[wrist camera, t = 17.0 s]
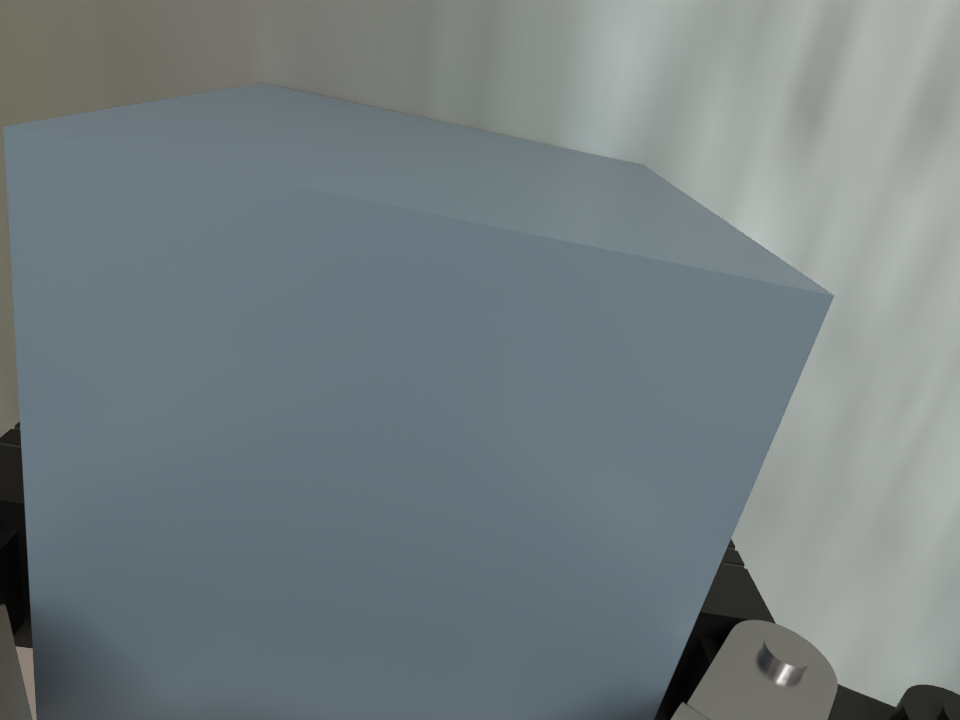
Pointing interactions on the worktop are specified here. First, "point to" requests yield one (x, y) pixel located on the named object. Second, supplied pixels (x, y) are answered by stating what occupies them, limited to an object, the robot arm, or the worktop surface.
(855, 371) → the worktop surface
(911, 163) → the worktop surface
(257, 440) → the light blue cuboid
